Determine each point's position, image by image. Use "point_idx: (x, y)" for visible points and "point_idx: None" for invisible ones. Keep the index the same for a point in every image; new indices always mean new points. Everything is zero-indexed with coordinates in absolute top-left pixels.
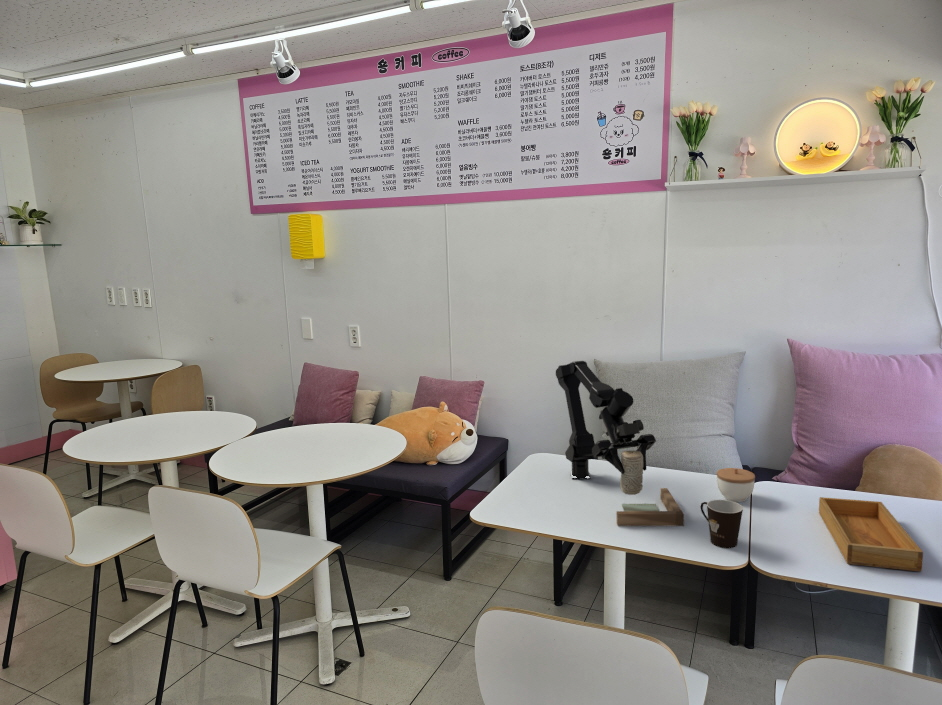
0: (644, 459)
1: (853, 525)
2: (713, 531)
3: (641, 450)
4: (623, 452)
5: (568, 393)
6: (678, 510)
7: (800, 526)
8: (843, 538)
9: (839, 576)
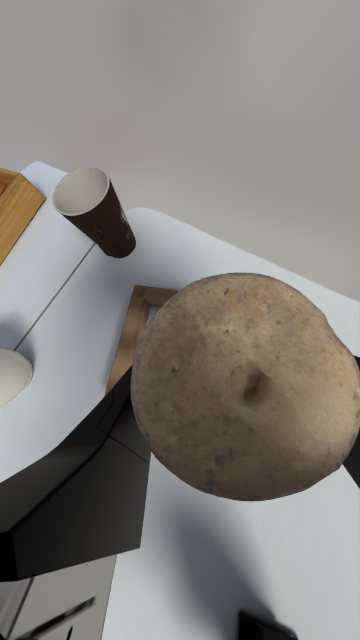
0: (129, 376)
1: None
2: (127, 221)
3: (94, 452)
4: (352, 413)
5: None
6: (135, 298)
7: (19, 273)
8: (12, 189)
9: None
